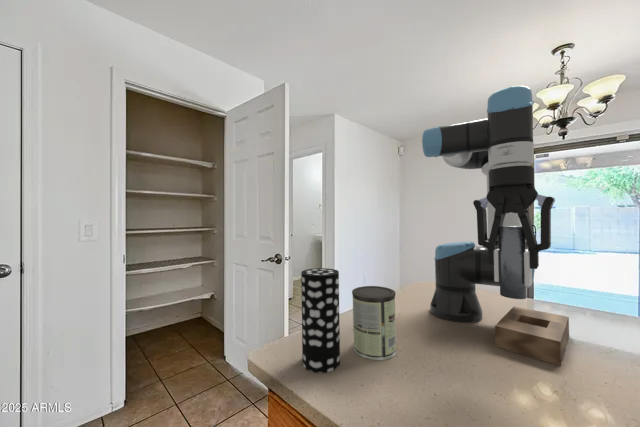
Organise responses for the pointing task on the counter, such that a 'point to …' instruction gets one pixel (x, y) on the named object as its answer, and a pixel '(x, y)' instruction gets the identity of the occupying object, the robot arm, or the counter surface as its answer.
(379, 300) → the coffee can
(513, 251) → the peg
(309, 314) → the spotted tube
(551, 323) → the socket block
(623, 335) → the counter surface
